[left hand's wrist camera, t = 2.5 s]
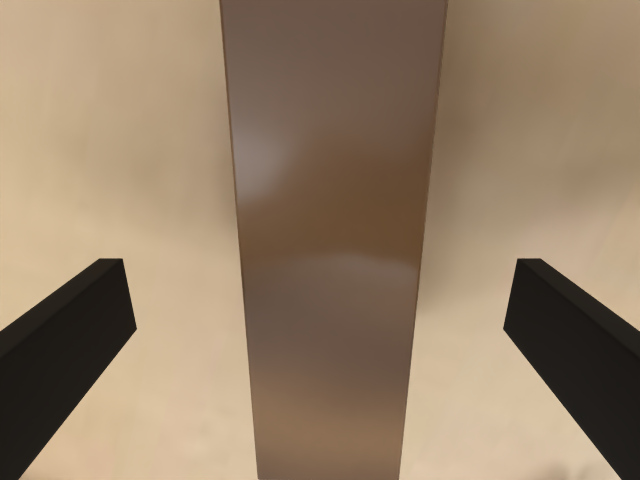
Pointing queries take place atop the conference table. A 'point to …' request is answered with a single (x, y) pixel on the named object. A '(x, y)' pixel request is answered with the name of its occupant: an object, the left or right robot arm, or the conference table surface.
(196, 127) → the conference table surface
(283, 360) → the beam
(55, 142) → the conference table surface
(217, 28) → the conference table surface
